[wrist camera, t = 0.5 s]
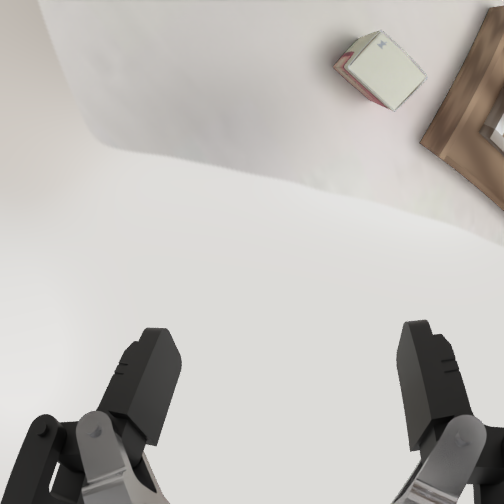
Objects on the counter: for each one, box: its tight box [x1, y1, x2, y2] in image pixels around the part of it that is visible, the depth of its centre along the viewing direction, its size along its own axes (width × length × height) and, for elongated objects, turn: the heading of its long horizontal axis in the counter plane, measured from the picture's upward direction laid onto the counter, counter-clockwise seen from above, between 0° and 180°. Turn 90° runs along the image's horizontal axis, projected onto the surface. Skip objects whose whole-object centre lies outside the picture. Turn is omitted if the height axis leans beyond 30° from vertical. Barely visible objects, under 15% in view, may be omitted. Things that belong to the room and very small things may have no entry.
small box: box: [333, 30, 427, 112], centre depth 22 cm, size 5×4×8 cm
